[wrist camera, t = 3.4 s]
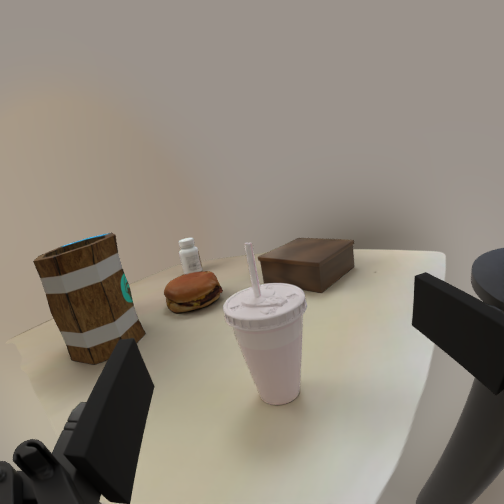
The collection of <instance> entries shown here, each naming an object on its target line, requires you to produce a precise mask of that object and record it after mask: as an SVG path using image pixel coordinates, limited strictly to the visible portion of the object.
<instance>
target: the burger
mask: <svg viewBox="0 0 504 504" xmlns="http://www.w3.org/2000/svg"><path fill="white" fill-rule="evenodd" d="M222 291H223V290H222V288H221V286H220V284H219V282H218V280H217V278H216V276H215V275H214V273H212V272H210V271H206V272H193V273H189V274H185V275H182V276H180V277H177V278H175V279H173V280H172V281H170V282H169V283H168V284H167V286H166V287H165V290H164V295H165V297H166V302H167V306H168V308H169V309H170V310H172V311H173V312H175V313H176V312H187V311H190V310H195V309H197V308H202V307H205V306H207V305H209V304H211V303H212V302H213V301H215V300H217V299H218V298H219V296H220V293H222Z"/></svg>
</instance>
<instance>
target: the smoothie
mask: <svg viewBox="0 0 504 504" xmlns="http://www.w3.org/2000/svg"><path fill="white" fill-rule="evenodd" d="M245 251H246V256H247V261H248V266H249V272H250V277H251V282H252V287H249V288H246V289H243V290H241V291H239V292H237V293H235V294H233V295H232V296H230V297H229V298H228V299H227V300H226V301H225V303H224V305H223V310H224V314H225V321H226V322H227V323H228V325H229V326H231V327H232V328H233V331H234V334H235V336H236V339H237V341H238V344H239V346H240V349H241V351H242V353H243V356H244V358H245V361H246V363H247V366H248V368H249V371H250V373H251V375H252V378H253V380H254V383H255V385H256V387H257V390H258V392H259V394H260V397H261V399H262V400H263V401H264V402H266V403H268V404H272V405H282V404H286V403H289V402H291V401H293V400H294V399H295V398H296V397H297V396H298V394H299V392H300V378H301V356H302V329H303V314H304V312H305V311H306V308H307V303H306V300H305V293H304V291H303V290H302V289H301V288H299V287H297V286H295V285H291V284H286V283H268V284H261V285H259V280H258V274H257V269H256V263H255V258H254V252H253V247H252V243H251V242H249V243H245Z"/></svg>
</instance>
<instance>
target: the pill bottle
mask: <svg viewBox="0 0 504 504" xmlns="http://www.w3.org/2000/svg"><path fill="white" fill-rule="evenodd" d="M179 246H180V248H181V250H180V251H179V255H180V259H181V263H182V267H183V271H184V274H189V273H193V272H201V271H202V265H201V261H200V256H199V252H198V248H197V247H194V239H193V238H186V239H183V240H180V241H179Z"/></svg>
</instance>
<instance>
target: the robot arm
mask: <svg viewBox="0 0 504 504" xmlns="http://www.w3.org/2000/svg"><path fill="white" fill-rule="evenodd" d="M412 326H414V327H415V328H416V329H417V330H419V331H420V332H421V333H422V334H424V335H425V336H426V337H427V338H429V339H430V340H431V341H432V342H434V343H435V344H436V345H437V346H438V347H440V348H441V349H442V350H443V351H445V352H446V353H447V354H448V355H449V356H451V357H452V358H453V359H454V360H455V361H457V362H458V363H459V364H460V365H461V366H463V367H464V368H465V369H466V370H467V371H468V372H470V373H471V374H472V375H473V376H474V377H475V378H477V379H478V380H479V381H480V382H481V383H482V384H484V385H485V386H486V387H487V388H488V389H489V390H490V391H492V392H493V393H494V394H495V395H497V394H499V393H500V392H501V391H502V390H504V312H502V310H500V309H498V308H496V307H494V306H491V305H488V304H486V303H484V302H482V301H480V300H479V299H477V298H475V297H473V296H471V295H469V294H467V293H465V292H464V291H461V290H460V289H458V288H456V287H454V286H452V285H450V284H448V283H446V282H444V281H442V280H440V279H438V278H436V277H434V276H432V275H430V274H428V273H423V274H419V275H416V276H415V282H414V303H413V317H412ZM153 390H154V384H153V382H152V380H151V377H150V375H149V373H148V370H147V368H146V366H145V363H144V361H143V359H142V356H141V354H140V351H139V349H138V346H137V344H136V341H135V339H134V338H129V339H121V340H119V341H118V342H117V344H116V346H115V348H114V350H113V352H112V354H111V355H110V357H109V359H108V361H107V363H106V365H105V367H104V369H103V371H102V373H101V375H100V376H99V378H98V380H97V382H96V384H95V386H94V388H93V390H92V392H91V394H90V396H89V398H88V401H87V402H81V403H80V404H79V405H78V406H77V407H76V408H75V409H74V410H73V411H72V412H71V414H70V416H69V418H68V420H67V421H68V422H66V424H65V426H64V430H62V433H61V435H60V437H59V439H58V441H57V443H56V445H55V447H54V450H53V452H52V453H51V452H50V451H49V450H48V449H47V448H46V446H45V445H44V444H43V443H42V442H41V441H39V440H35V439H30V440H27V441H24V442H23V443H21V444H20V445H19V446H18V447H17V448H16V449H15V452H14V454H13V462H14V463H15V464H17V466H18V467H19V468H20V469H21V470H22V471H16V470H15V469H14V468H13V467H12V466H11V465H10V464H9V463H7V462H5V461H0V504H101V503H100V502H99V500H100V496H101V494H102V495H103V496H104V497H105V498H106V499H107V500H108V501H110V502H115V503H123V504H130V501H131V495H132V489H133V484H134V478H135V473H136V468H137V462H138V457H139V452H140V448H141V443H142V438H143V433H144V429H145V424H146V420H147V415H148V411H149V407H150V403H151V399H152V394H153Z"/></svg>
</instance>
